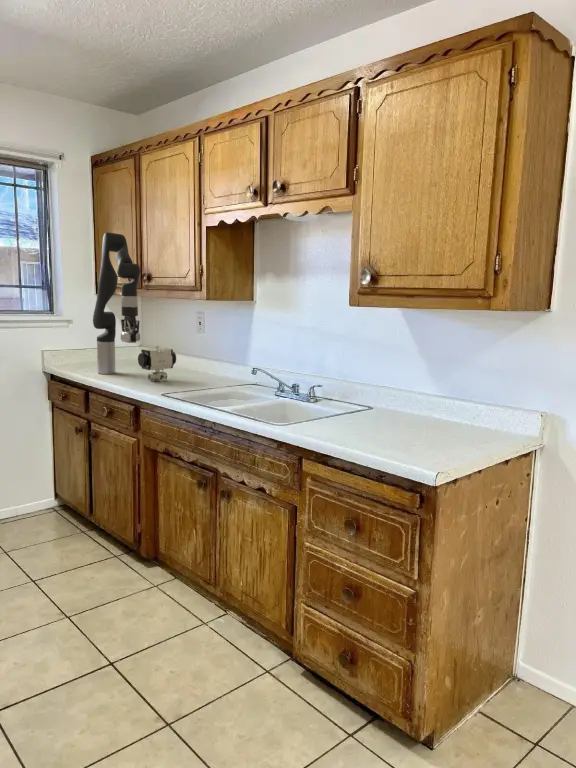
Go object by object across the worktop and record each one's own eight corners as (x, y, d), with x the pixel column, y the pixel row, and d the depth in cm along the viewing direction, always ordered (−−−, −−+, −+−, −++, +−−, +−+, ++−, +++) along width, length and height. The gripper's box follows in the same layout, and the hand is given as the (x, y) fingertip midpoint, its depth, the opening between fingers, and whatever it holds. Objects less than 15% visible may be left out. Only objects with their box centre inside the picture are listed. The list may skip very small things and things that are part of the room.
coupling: (120, 342, 275) (119, 331, 274) (135, 341, 280) (135, 330, 279) (125, 343, 271) (125, 331, 270) (140, 342, 276) (140, 331, 275)
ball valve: (146, 384, 280) (145, 347, 277) (137, 381, 286) (137, 346, 283) (178, 380, 292) (177, 346, 289) (169, 378, 298) (169, 344, 295)
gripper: (115, 305, 275) (116, 340, 278) (129, 306, 265) (130, 342, 268) (129, 305, 280) (130, 340, 283) (144, 306, 270) (145, 342, 273)
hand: (130, 341), depth 275 cm, fingers closed on coupling, 5 cm apart
